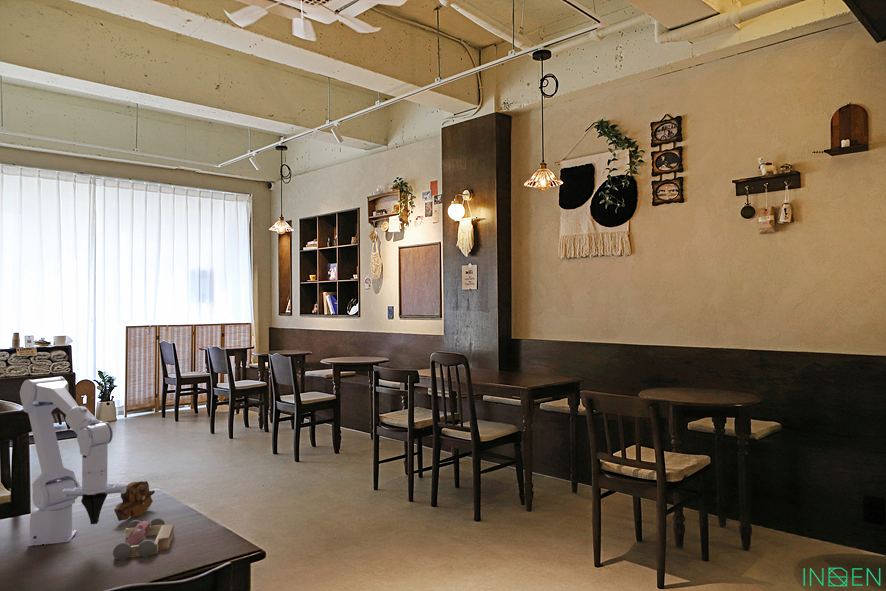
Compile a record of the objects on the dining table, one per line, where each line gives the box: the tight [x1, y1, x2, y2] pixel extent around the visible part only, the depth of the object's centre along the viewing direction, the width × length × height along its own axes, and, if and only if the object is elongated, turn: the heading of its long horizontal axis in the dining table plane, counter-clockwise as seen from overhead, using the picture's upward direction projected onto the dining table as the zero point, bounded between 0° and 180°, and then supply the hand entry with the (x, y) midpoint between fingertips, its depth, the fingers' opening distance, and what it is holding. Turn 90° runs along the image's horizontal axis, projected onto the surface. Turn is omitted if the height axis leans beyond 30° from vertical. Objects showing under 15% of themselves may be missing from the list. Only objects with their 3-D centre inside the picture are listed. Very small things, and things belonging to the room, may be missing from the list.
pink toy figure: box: [124, 520, 151, 546], centre depth 161 cm, size 10×5×7 cm, turn 13°
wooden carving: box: [114, 480, 156, 522], centre depth 183 cm, size 16×5×10 cm, turn 178°
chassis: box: [112, 517, 175, 561], centre depth 161 cm, size 12×18×4 cm
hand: (94, 522), depth 157 cm, fingers closed
